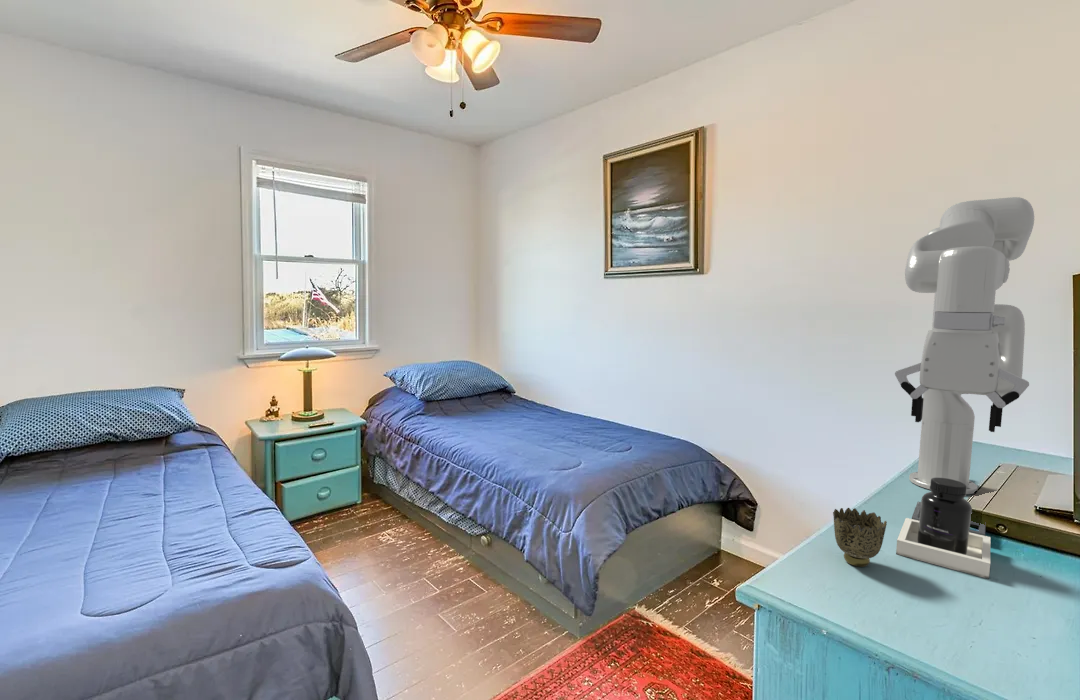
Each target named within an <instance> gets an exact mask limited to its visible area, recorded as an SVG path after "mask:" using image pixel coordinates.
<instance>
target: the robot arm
mask: <svg viewBox="0 0 1080 700" xmlns="http://www.w3.org/2000/svg"><path fill="white" fill-rule="evenodd" d="M1034 223H1035V210H1034V208H1033V206H1032V204H1031V203H1030V202H1029V200H1027V199H1025V198H1023V197H1020V196H1019V197H1018V196H1011V197H1002V198H1001V197H1000V198H999V197H998V198H991V199H978V200H977V199H976V200H975V199H974V200H968V201H967V200H966V201H962V202H959V203H955V204H953V205H951V206H950V207H948V208H947V209H946V210H945V211H944V212H943V214H942V215H941V218H940V220H939V226H938V227H935V228H934V229H931V230H929V231H928V232H927V234H926V235H924V236H922V237H920V238H919V239H917V240H916V241H915V242H914V243H913V244H912V246H911V247H910V249H909V252H908V255H907V260H906V264H905V269H904V278H905V279H904V280H905V284H906V286H907V288H908V289H909V290H911V291H913V292H915V293H921V294H934V298H933V299H934V300H933V311H932V312H933V313H932V323H931V324H932V325H931V326H932V327H931V330H930V329H929V330H928V332H927V334H926V336H925V341H924V346H923V351H922V356H921V362H919V363H917V364H913V365H909V366H907V367H904V368H901V369H898V370H896V371H895V372H894V375H895V377H896V380H897V381H898V383H899V385H900V388H901V389H902V390H904V392H906V393H907V394H908V395H909V396H910V398H911V401H912V402H911V410H910V411H911V413H910V416H911V417H914V418H915V419H914V422H915V423H920V422H921V427H920V428H921V429H920V440H919V449H918V450H919V452H918V453H919V454H918V465H917V471H915V472H911V473H910V474H909V476H908V479H909V481H910V482H911V483H913V484H915V485H916V486H918V487H921V488H923V489H924V488H925V489H927V490H930V484H931V479H932V478H947V479H952V480H956V481H959V482H962V483H964V484H965V485H966V486H967V488H966V495H972V494H975V493H974V492H975V491H976V490H977V491H978V485H977V484H975V482H973V481H971V480H970V475H971V464H972V453H973V440H974V432H975V431H974V430H975V412H974V410H973V408H972V406H970V404H969V403H968V402H967V401H966V400H965V398H963V397H962V395H977V396H979V395H980V396H986V397H987V398H988V399H989V400H990V401H991V402H992V405H990V413H989V422H988V423H989V424H988V431H990V433H995V432H996V427H999V428H1001V427H1002V418H1003V417H1002V416H1003V408H1005V407H1006V406H1007V405H1009V404H1011V403H1013V402H1014V401H1016V400H1018V399H1019V398H1020V396H1021V395H1022V394H1024V392H1025V391H1026V389H1028V388H1029V387H1030V382H1029V381H1028V380H1026V379H1024V378H1023V369H1024V367H1023V366H1024V349H1025V336H1026V335H1025V334H1026V333H1025V331H1026V330H1025V329H1026V328H1025V325H1026V323H1025V318H1024V314H1023V312H1022V310H1021V309H1020V308H1018V307H1017V306H1015V305H1012V304H999V303H997V304H995V302H996V292H997V290H999V289H1000V288H1001V287H1002V286H1003V284H1005V283H1007V281H1008V279H1009V276H1010V275H1009V274H1010V262H1011V261H1014V260H1017V259H1019V258H1020V257H1022V255H1023V253H1024V252H1025V250H1026V247H1027V245H1028V242H1029V240H1030V237H1031V234H1032V232H1033V229H1034ZM918 372H919V384H920V385H919V386H918V387H915V386H914V385H913V384H912V383H911V382H909V380H908V376H909V375H912V374H915V373H918Z"/></svg>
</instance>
